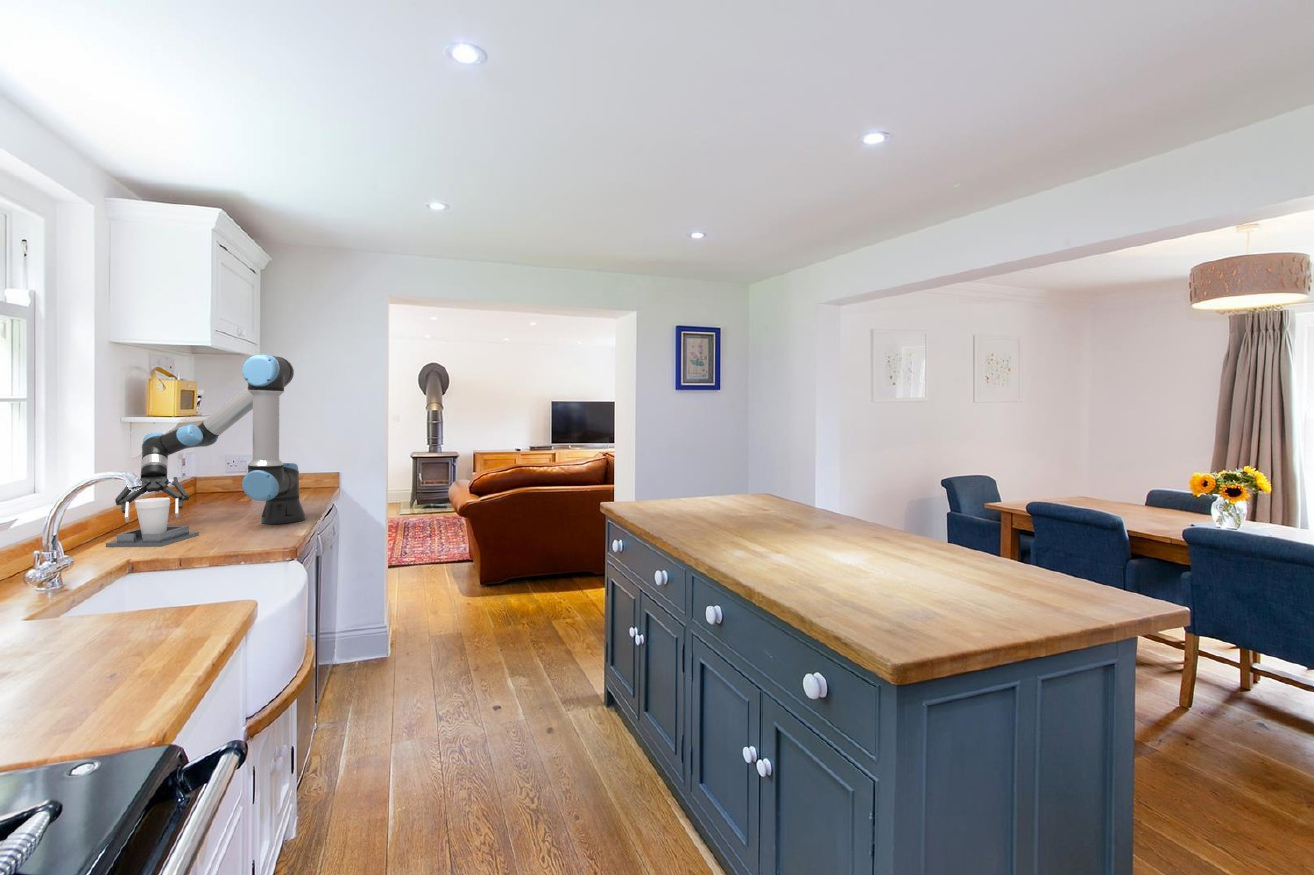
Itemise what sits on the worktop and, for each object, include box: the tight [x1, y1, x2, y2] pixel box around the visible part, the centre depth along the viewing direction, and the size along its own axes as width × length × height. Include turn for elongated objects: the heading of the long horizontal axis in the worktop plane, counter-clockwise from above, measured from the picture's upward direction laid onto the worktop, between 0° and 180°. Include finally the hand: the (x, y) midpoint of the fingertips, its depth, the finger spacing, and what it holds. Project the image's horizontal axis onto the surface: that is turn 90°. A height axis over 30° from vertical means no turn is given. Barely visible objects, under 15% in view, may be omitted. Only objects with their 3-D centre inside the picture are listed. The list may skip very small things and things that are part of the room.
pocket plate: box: [105, 525, 200, 548], centre depth 223 cm, size 18×18×4 cm
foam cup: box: [134, 497, 171, 537], centre depth 223 cm, size 10×9×13 cm
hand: (152, 517), depth 223 cm, fingers open, 13 cm apart
